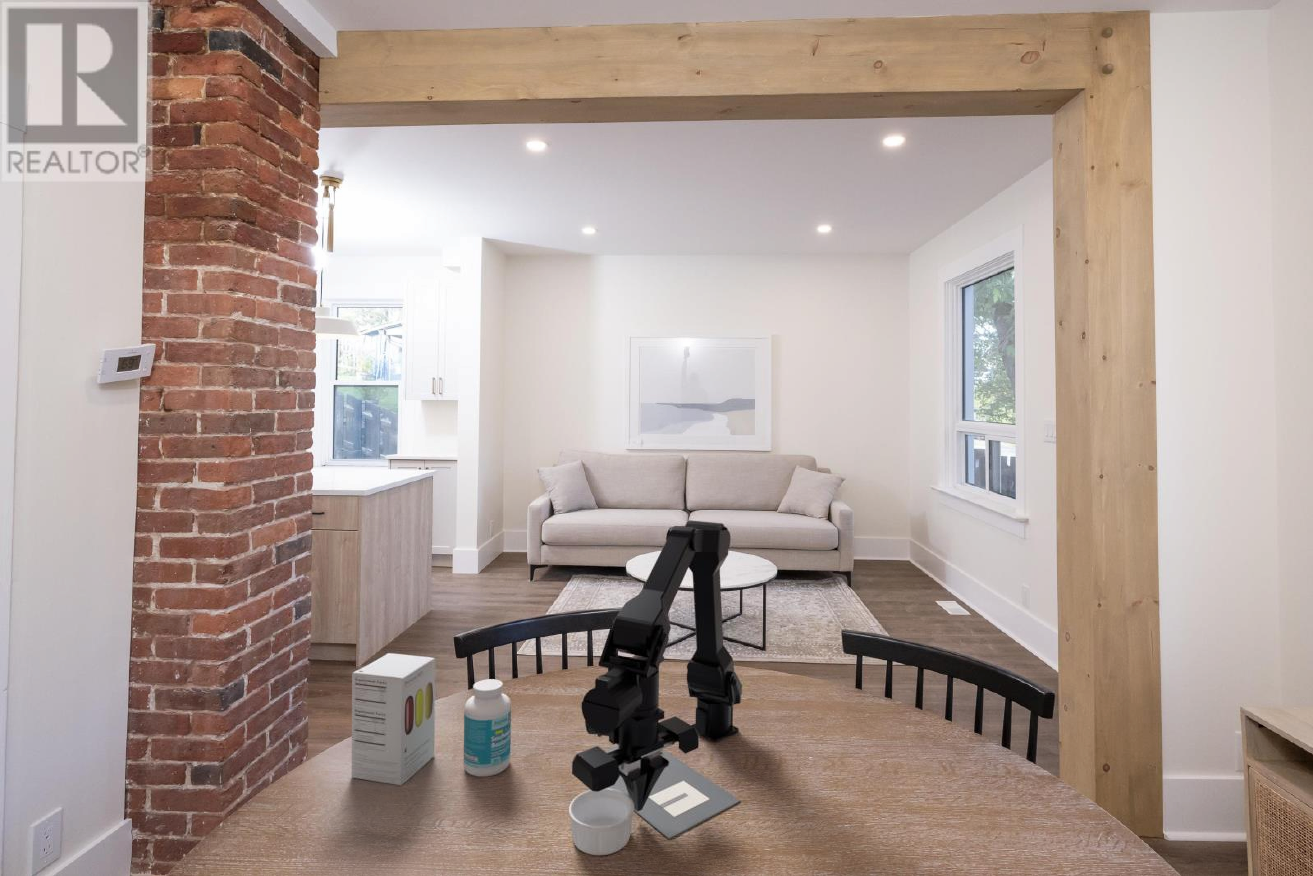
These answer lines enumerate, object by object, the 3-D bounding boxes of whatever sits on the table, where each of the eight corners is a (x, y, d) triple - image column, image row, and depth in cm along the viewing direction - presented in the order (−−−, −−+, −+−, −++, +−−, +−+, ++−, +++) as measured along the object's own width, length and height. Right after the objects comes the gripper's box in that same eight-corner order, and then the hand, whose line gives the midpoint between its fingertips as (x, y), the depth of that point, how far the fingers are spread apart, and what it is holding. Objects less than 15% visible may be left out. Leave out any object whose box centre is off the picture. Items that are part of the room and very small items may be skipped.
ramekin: (556, 849, 84) (556, 817, 83) (587, 810, 92) (588, 781, 92) (616, 867, 80) (617, 834, 80) (644, 826, 88) (644, 795, 88)
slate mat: (643, 737, 113) (643, 735, 113) (740, 801, 94) (740, 799, 94) (576, 763, 104) (576, 761, 104) (668, 839, 86) (668, 837, 86)
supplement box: (401, 787, 97) (401, 679, 96) (349, 779, 99) (349, 673, 98) (436, 755, 106) (436, 656, 106) (388, 748, 108) (388, 651, 108)
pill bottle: (498, 782, 99) (498, 696, 98) (454, 776, 100) (455, 692, 100) (518, 757, 106) (518, 677, 106) (477, 751, 107) (477, 673, 107)
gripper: (654, 667, 101) (653, 762, 102) (552, 699, 90) (551, 806, 90) (701, 691, 93) (700, 795, 93) (595, 730, 81) (594, 849, 82)
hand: (637, 809), depth 90 cm, fingers closed
